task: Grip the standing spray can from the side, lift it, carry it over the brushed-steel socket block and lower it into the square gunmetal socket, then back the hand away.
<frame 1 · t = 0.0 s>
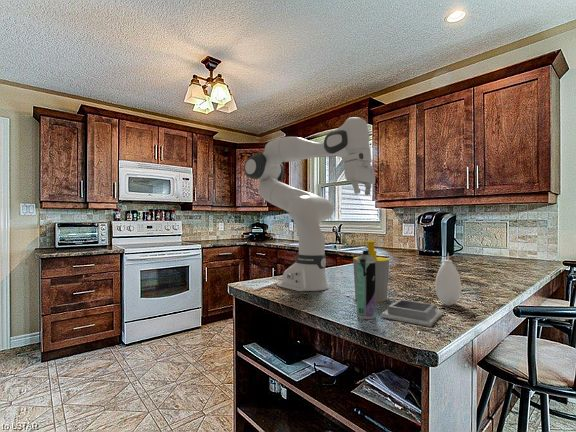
hand: (362, 194, 126), 39 cm above the countertop, tool pointing down, fingers open, 8 cm apart
spray can: (365, 316, 99), on the countertop
soap bottle: (370, 298, 122), on the countertop
white bulb air blower: (447, 305, 113), on the countertop
socket block: (412, 315, 100), on the countertop
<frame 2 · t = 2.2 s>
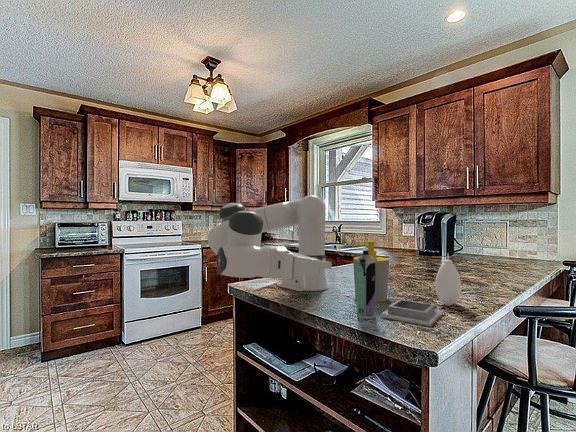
hand: (323, 262, 94), 17 cm above the countertop, tool horizontal, fingers open, 8 cm apart
nothing on the countertop moved.
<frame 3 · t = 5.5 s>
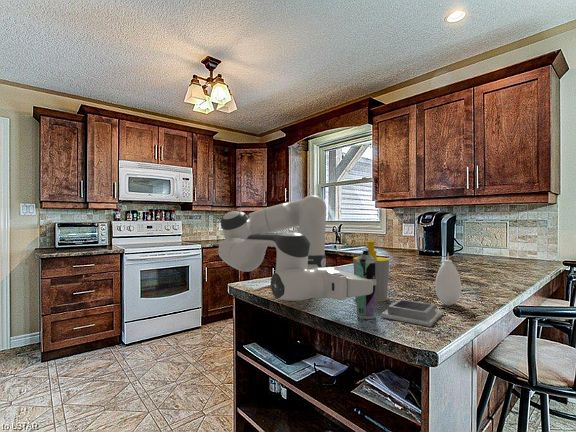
hand: (368, 279, 99), 11 cm above the countertop, tool horizontal, fingers closed on spray can, 5 cm apart
spray can: (365, 316, 99), on the countertop, touching gripper
everything else where it was.
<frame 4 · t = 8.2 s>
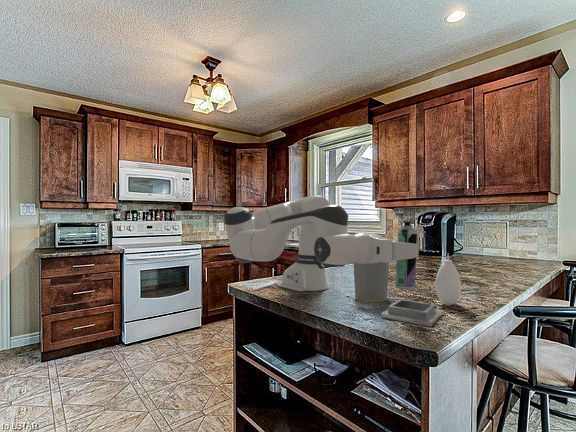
hand: (409, 247, 99), 21 cm above the countertop, tool horizontal, fingers closed on spray can, 5 cm apart
spray can: (405, 288, 99), point 9 cm above the countertop, touching gripper
everything else where it was.
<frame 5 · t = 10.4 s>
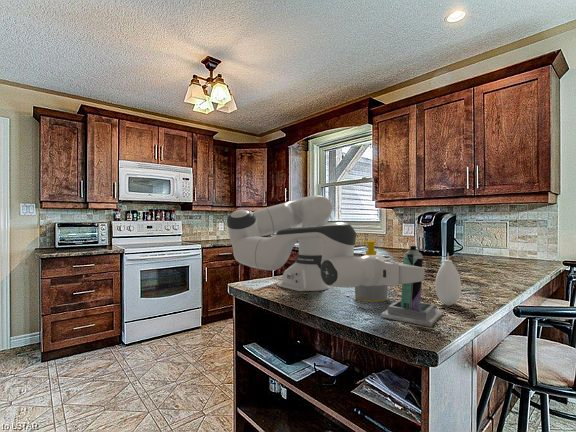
hand: (414, 268, 100), 15 cm above the countertop, tool horizontal, fingers closed on spray can, 5 cm apart
spray can: (410, 312, 99), point 1 cm above the countertop, touching gripper, socket block
everything else where it was.
when the fingers open (14 cm above the countertop, at t = 11.2 s): spray can stays where it is, resting on socket block.
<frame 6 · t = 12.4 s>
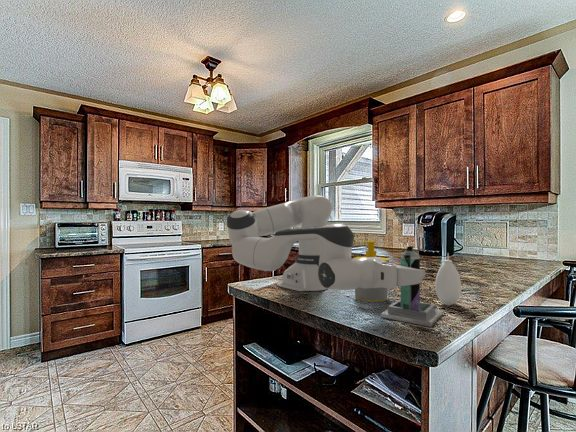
hand: (412, 270, 100), 14 cm above the countertop, tool horizontal, fingers open, 8 cm apart
spray can: (410, 312, 99), point 1 cm above the countertop, touching socket block
everything else where it was.
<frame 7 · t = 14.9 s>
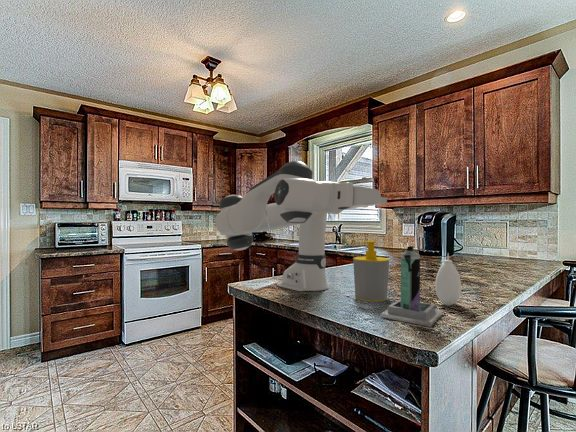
hand: (375, 202, 96), 34 cm above the countertop, tool horizontal, fingers open, 8 cm apart
nothing on the countertop moved.
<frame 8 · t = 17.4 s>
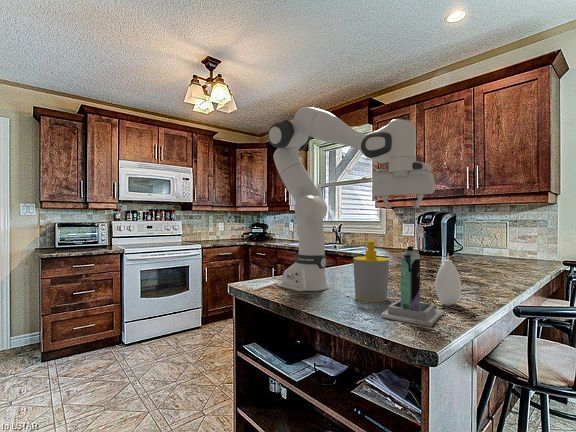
hand: (402, 208, 111), 33 cm above the countertop, tool pointing down, fingers open, 8 cm apart
nothing on the countertop moved.
at the end: spray can 0.8 cm off-centre on the socket block, point 1.0 cm above the socket block's base; spray can tilted 0°; the gripper is holding nothing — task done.
